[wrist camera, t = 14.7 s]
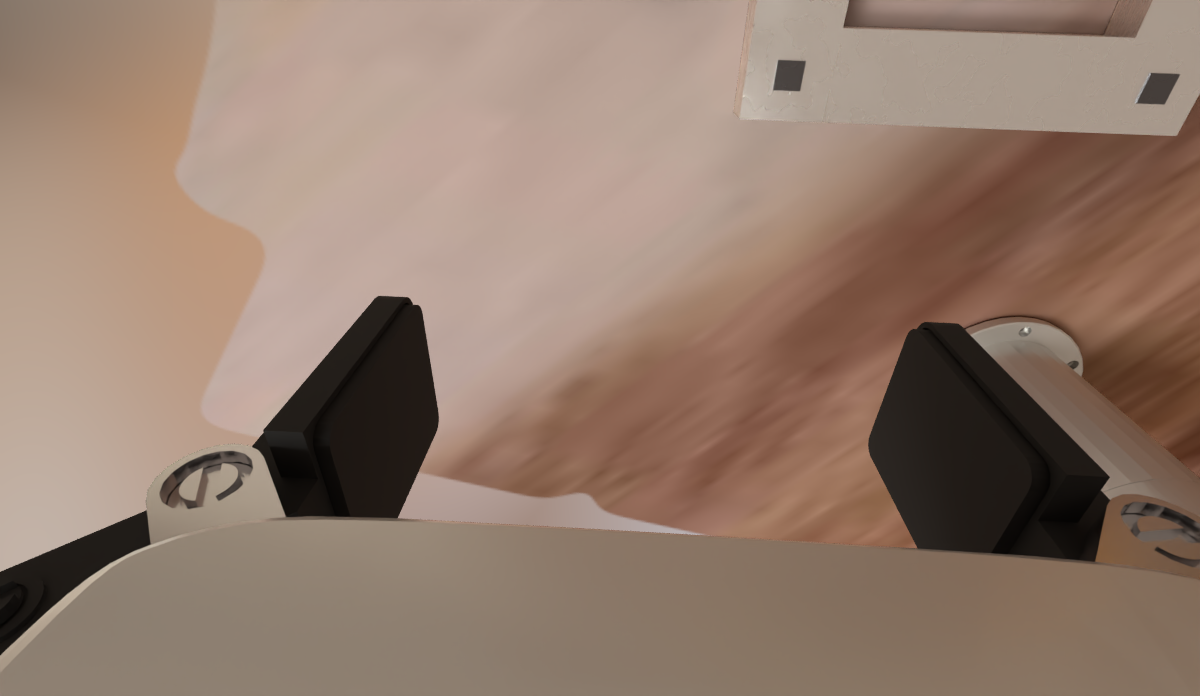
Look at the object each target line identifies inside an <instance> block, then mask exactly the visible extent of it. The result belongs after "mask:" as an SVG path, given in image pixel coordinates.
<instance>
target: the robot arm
mask: <svg viewBox="0 0 1200 696" xmlns="http://www.w3.org/2000/svg"><path fill="white" fill-rule="evenodd" d="M1082 373H1083V357H1082V355H1081V352H1080V349H1079V347H1078V345H1077V344H1076V343H1075V342H1074V340H1073V339H1072V338H1071V337H1070V336H1069V335H1067V334H1066V333H1065V332H1064V331H1062V330H1061V329H1060V328H1058V327H1056V326H1055V325H1053V324H1051V323H1049V322H1046V321H1043V320H1039V319H1036V318H1027V317H1009V318H1000V319H995V320H991V321H986V322H983V323H980V324H977V325H975V326H972V327H969V328H967V329H964V328H963V327H962V326H960V325H959V324H954V323H934V322H924V323H922V324H921V325H920V326H919V327H918V328H917V329H913V330H911V331H910V332H909V333H908V335H907V337H906V339H905V342H904V345H903V348H902V350H901V353H900V356H899V358H898V361H897V364H896V366H895V369H894V372H893V375H892V377H891V380H890V383H889V385H888V388H887V391H886V393H885V396H884V399H883V402H882V404H881V407H880V410H879V412H878V415H877V418H876V420H875V423H874V426H873V428H872V431H871V434H870V437H869V443H868V446H869V453H870V456H871V458H872V460H873V462H874V464H875V466H876V468H877V470H878V472H879V474H880V476H881V478H882V479H883V481H884V483H885V485H886V487H887V489H888V491H889V493H890V495H891V497H892V499H893V501H894V503H895V505H896V507H897V509H898V511H899V513H900V515H901V517H902V519H903V521H904V522H905V524H906V526H907V528H908V530H909V532H910V534H911V536H912V538H913V540H914V542H915V544H916V546H917V548H918V549H915V548H900V547H884V546H869V545H853V544H837V543H820V542H804V541H788V540H771V539H755V538H738V537H721V536H705V535H687V534H670V533H653V532H652V533H651V532H636V531H635V532H634V531H619V530H601V529H584V528H566V527H548V526H529V525H510V524H509V525H508V524H492V523H474V522H455V521H436V520H418V519H399V518H398V516H399V514H400V512H401V509H402V507H403V505H404V503H405V501H406V498H407V496H408V494H409V491H410V489H411V487H412V485H413V483H414V480H415V478H416V476H417V474H418V472H419V469H420V467H421V465H422V463H423V461H424V458H425V456H426V454H427V452H428V449H429V447H430V445H431V443H432V441H433V438H434V436H435V434H436V431H437V428H438V422H439V414H438V407H437V401H436V395H435V389H434V382H433V376H432V370H431V364H430V358H429V351H428V345H427V339H426V333H425V327H424V320H423V314H422V310H421V308H420V306H419V305H413V303H412V301H411V299H409V298H408V297H390V296H378V297H376V298H375V299H374V300H373V302H372V303H371V304H370V305H369V306H368V307H367V309H366V310H365V311H364V312H363V313H362V315H361V316H360V317H359V318H358V319H357V320H356V322H355V323H354V324H353V325H352V326H351V328H350V329H349V330H348V331H347V332H346V333H345V335H344V336H343V337H342V338H341V339H340V340H339V342H338V343H337V344H336V345H335V346H334V348H333V349H332V350H331V351H330V352H329V353H328V355H327V356H326V357H325V358H324V359H323V360H322V362H321V363H320V364H319V365H318V366H317V368H316V369H315V370H314V371H313V372H312V373H311V375H310V376H309V377H308V378H307V379H306V381H305V382H304V383H303V384H302V385H301V386H300V388H299V389H298V390H297V391H296V392H295V393H294V395H293V396H292V397H291V398H290V399H289V401H288V402H287V403H286V404H285V405H284V406H283V408H282V409H281V410H280V411H279V412H278V414H277V415H276V416H275V417H274V418H273V419H272V421H271V422H270V423H269V424H268V425H267V426H266V428H265V429H264V430H263V431H264V433H263V434H262V435H261V436H260V438H259V439H258V440H257V441H256V442H255V444H254V445H253V446H252V447H251V446H248V445H241V444H227V445H218V446H214V447H210V448H206V449H202V450H199V451H197V452H195V453H192V454H190V455H188V456H186V457H183V458H182V459H180V460H178V461H177V462H175V463H173V464H172V465H170V466H169V467H167V468H166V469H165V470H164V471H163V472H162V473H161V474H160V475H159V476H157V477H156V478H155V480H154V481H153V483H152V484H151V486H150V487H149V489H148V492H147V498H146V507H147V510H146V511H144V512H142V513H139V514H137V515H135V516H132V517H130V518H128V519H125V520H123V521H120V522H118V523H115V524H113V525H111V526H108V527H106V528H104V529H101V530H99V531H96V532H94V533H92V534H89V535H87V536H84V537H82V538H80V539H77V540H75V541H73V542H70V543H68V544H65V545H63V546H61V547H58V548H56V549H54V550H51V551H49V552H46V553H44V554H42V555H39V556H37V557H35V558H32V559H30V560H28V561H25V562H23V563H20V564H18V565H16V566H13V567H11V568H8V569H6V570H4V571H1V572H0V696H1200V478H1199V477H1198V476H1197V475H1196V474H1194V473H1193V472H1192V471H1191V470H1190V469H1189V468H1187V467H1186V466H1185V465H1184V464H1183V463H1182V462H1180V461H1179V460H1178V459H1177V458H1176V457H1175V456H1173V455H1172V454H1171V453H1170V452H1169V451H1168V450H1166V449H1165V448H1164V447H1163V446H1162V445H1161V444H1159V443H1158V442H1157V441H1156V440H1155V439H1153V438H1152V437H1151V436H1150V435H1149V434H1148V433H1146V432H1145V431H1144V430H1143V429H1142V428H1141V427H1139V426H1138V425H1137V424H1136V423H1135V422H1134V421H1132V420H1131V419H1130V418H1129V417H1128V416H1127V415H1125V414H1124V413H1123V412H1122V411H1121V410H1120V409H1118V408H1117V407H1116V406H1115V405H1114V404H1113V403H1111V402H1110V401H1109V400H1108V399H1107V398H1106V397H1104V396H1103V395H1102V394H1101V393H1100V392H1099V391H1097V390H1096V389H1095V388H1094V387H1093V386H1092V385H1090V384H1089V383H1088V382H1087V381H1086V380H1085V379H1083V378H1082Z"/></svg>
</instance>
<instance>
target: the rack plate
mask: <svg viewBox="0 0 1200 696" xmlns="http://www.w3.org/2000/svg"><path fill="white" fill-rule="evenodd" d="M848 3H849V0H749V5H748V12H747V19H746V26H745V33H744V40H743V47H742V54H741V61H740V68H739V75H738V82H737V89H736V96H735V103H734V109H733V112H734V114H735V115H736V116H737V117H738V118H739V119H744V120H770V121H796V122H823V123H849V124H875V125H902V126H928V127H954V128H981V129H1007V130H1033V131H1060V132H1086V133H1112V134H1139V135H1165V136H1177V134H1178V132H1179V130H1180V129H1181V127H1182V125H1183V123H1184V121H1185V119H1186V118H1187V116H1188V114H1189V112H1190V110H1191V109H1192V107H1193V105H1194V103H1195V101H1196V99H1197V98H1198V96H1199V94H1200V0H1119V1H1118V3H1117V6H1116V8H1115V10H1114V12H1113V15H1112V17H1111V19H1110V21H1109V24H1108V26H1107V28H1106V31H1105V33H1104V35H1088V34H1058V33H1028V32H998V31H968V30H937V29H907V28H877V27H847V26H844V21H845V17H846V12H847V8H848Z"/></svg>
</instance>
